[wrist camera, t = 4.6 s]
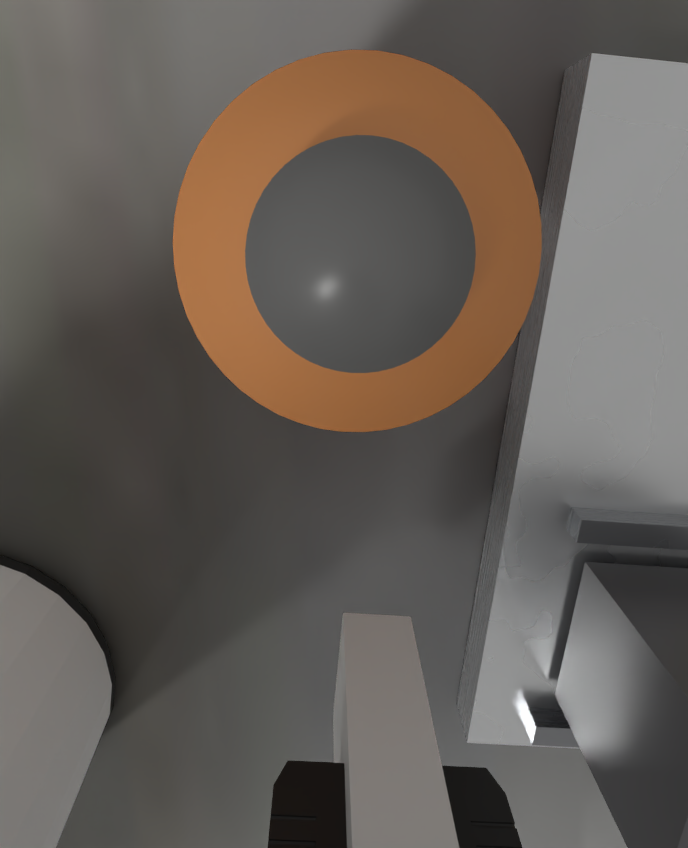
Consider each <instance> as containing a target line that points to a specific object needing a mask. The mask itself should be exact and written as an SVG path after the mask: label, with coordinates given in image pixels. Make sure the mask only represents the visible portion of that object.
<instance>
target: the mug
mask: <svg viewBox="0 0 688 848" xmlns="http://www.w3.org/2000/svg"><path fill="white" fill-rule="evenodd" d="M114 688H115V674H114V670H113V666H112V661H111V657H110V653H109V649H108V645H107V643H106V640H105V639H104V637H103V635H102V633H101V632H100V630H99V628H98V627H97V625H96V623H95V621H94V620H93V618H92V616H91V614H90V613H89V612H88V611H87V610H86V609H85V608H84V607H83V606H82V604H81V603H80V602H79V601H78V600H77V599H76V598H75V597H74V596H73V595H72V594H71V593H70V592H69V591H68V590H67V589H66V588H65V587H63V586H62V585H60V584H59V583H57V582H56V581H54V580H52V579H51V578H49V577H48V576H46V575H45V574H43V573H41V572H40V571H38V570H37V569H35V568H34V567H32V566H29V565H26V564H23V563H21V562H18V561H15V560H12V559H10V558H7V557H4V556H1V555H0V848H56V846H57V844H58V841H59V839H60V836H61V834H62V831H63V829H64V826H65V824H66V822H67V819H68V817H69V814H70V812H71V809H72V807H73V804H74V802H75V799H76V797H77V794H78V792H79V789H80V787H81V785H82V782H83V780H84V777H85V775H86V772H87V770H88V767H89V765H90V762H91V760H92V757H93V755H94V752H95V750H96V747H97V745H98V743H99V740H100V738H101V735H102V733H103V730H104V728H105V725H106V723H107V720H108V718H109V715H110V713H111V710H112V708H113V701H114Z"/></svg>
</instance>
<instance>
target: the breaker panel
mask: <svg viewBox="0 0 688 848" xmlns="http://www.w3.org/2000/svg"><path fill="white" fill-rule="evenodd" d="M540 218H541V232H542V251H541V260H540V269H539V276H538V280H537V284H536V288H535V292H534V297H533V300H532V302H531V305H530V308H529V310H528V313H527V316H526V318H525V321H524V323H523V325H522V327H521V329H520V335H519V341H518V347H517V353H516V359H515V364H514V370H513V376H512V382H511V388H510V394H509V400H508V405H507V411H506V417H505V423H504V429H503V435H502V440H501V446H500V452H499V458H498V464H497V470H496V476H495V481H494V487H493V493H492V499H491V505H490V511H489V517H488V522H487V528H486V534H485V540H484V546H483V552H482V557H481V563H480V569H479V575H478V581H477V587H476V593H475V598H474V604H473V610H472V616H471V622H470V628H469V633H468V639H467V645H466V651H465V657H464V663H463V669H462V674H461V680H460V686H459V692H458V698H457V708H458V711H459V715H460V719H461V722H462V726H463V730H464V734H465V737H466V741H467V743H479V744H499V745H519V746H539V747H559V748H579V749H580V747H579V745H578V743H577V741H576V739H575V737H574V734H573V732H572V730H571V728H570V726H569V724H568V722H567V720H566V718H565V716H564V714H563V711H562V709H561V707H560V705H559V703H558V701H557V699H556V697H555V692H556V687H557V683H558V678H559V674H560V670H561V665H562V661H563V656H564V652H565V648H566V643H567V639H568V634H569V630H570V626H571V621H572V617H573V612H574V608H575V604H576V599H577V595H578V590H579V586H580V581H581V577H582V573H583V568H584V564H585V562H597V563H612V564H628V565H643V566H659V567H674V568H688V63H681V62H671V61H662V60H653V59H643V58H634V57H624V56H615V55H606V54H596V53H591V54H590V55H588V56H586V57H585V58H583V59H582V60H580V61H579V62H577V63H575V64H574V65H572V66H571V67H569V68H568V69H566V70H565V72H564V78H563V84H562V90H561V95H560V101H559V107H558V113H557V119H556V125H555V131H554V136H553V142H552V148H551V154H550V160H549V166H548V171H547V177H546V183H545V189H544V195H543V201H542V207H541V212H540Z"/></svg>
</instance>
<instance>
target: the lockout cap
mask: <svg viewBox="0 0 688 848" xmlns="http://www.w3.org/2000/svg"><path fill="white" fill-rule="evenodd" d="M541 251H542V232H541V218H540V211H539V204H538V198H537V194H536V191H535V187H534V183H533V180H532V176H531V173H530V171H529V169H528V166H527V164H526V162H525V159H524V157H523V155H522V152H521V150H520V148H519V147H518V145H517V143H516V142H515V140H514V138H513V137H512V135H511V133H510V132H509V130H508V128H507V127H506V126H505V125H504V123H503V122H502V121H501V120H500V118H499V117H498V116H497V115H496V113H495V112H494V111H493V110H492V108H491V107H490V106H489V105H487V104H486V103H485V102H484V101H483V100H482V99H481V98H480V97H479V96H478V95H477V94H476V93H475V92H474V91H473V90H471V89H470V88H468V87H467V86H466V85H464V84H463V83H461V82H460V81H459V80H457V79H456V78H454V77H453V76H452V75H450V74H448V73H446V72H444V71H442V70H440V69H438V68H436V67H434V66H432V65H430V64H428V63H425V62H422V61H419V60H416V59H413V58H410V57H407V56H404V55H400V54H394V53H389V52H383V51H378V50H344V51H335V52H327V53H322V54H318V55H315V56H311V57H307V58H304V59H300V60H297V61H295V62H293V63H291V64H288V65H286V66H284V67H281V68H279V69H277V70H275V71H273V72H271V73H270V74H268V75H267V76H265V77H263V78H262V79H260V80H259V81H257V82H255V83H254V84H252V85H251V86H250V87H249V88H247V89H246V90H245V91H244V92H243V93H241V94H240V95H239V96H238V97H237V98H235V99H234V100H233V101H232V102H231V103H230V104H229V105H228V106H227V108H226V109H225V110H224V111H223V112H222V113H221V114H220V115H219V116H218V118H217V119H216V120H215V121H214V122H213V124H212V125H211V127H210V128H209V130H208V131H207V133H206V134H205V136H204V137H203V138H202V140H201V141H200V143H199V145H198V147H197V149H196V151H195V153H194V155H193V157H192V159H191V161H190V163H189V165H188V168H187V170H186V173H185V176H184V179H183V182H182V185H181V188H180V191H179V196H178V201H177V206H176V211H175V216H174V231H173V254H174V268H175V273H176V279H177V284H178V289H179V293H180V296H181V299H182V302H183V306H184V309H185V312H186V315H187V317H188V319H189V321H190V323H191V325H192V328H193V330H194V332H195V334H196V336H197V338H198V339H199V341H200V342H201V344H202V346H203V347H204V349H205V350H206V352H207V354H208V355H209V357H210V358H211V359H212V360H213V362H214V363H215V364H216V365H217V366H218V368H219V369H220V370H221V371H222V373H223V374H224V375H225V376H226V377H227V378H228V379H229V380H230V381H232V382H233V383H234V384H235V385H236V386H237V387H238V388H239V389H240V390H241V391H242V392H244V393H245V394H247V395H248V396H249V397H251V398H252V399H253V400H255V401H256V402H257V403H259V404H260V405H262V406H264V407H266V408H268V409H269V410H271V411H273V412H275V413H277V414H278V415H281V416H283V417H286V418H288V419H290V420H293V421H295V422H298V423H301V424H305V425H308V426H312V427H316V428H320V429H326V430H333V431H340V432H370V431H379V430H387V429H392V428H396V427H400V426H404V425H408V424H411V423H414V422H416V421H419V420H422V419H424V418H427V417H430V416H431V415H433V414H435V413H437V412H439V411H441V410H443V409H445V408H447V407H449V406H450V405H452V404H453V403H455V402H456V401H458V400H459V399H460V398H462V397H463V396H465V395H466V394H468V393H469V392H470V391H471V390H472V389H473V388H474V387H476V386H477V385H478V384H479V383H480V382H481V381H482V380H483V379H485V378H486V377H487V375H488V374H489V373H490V372H491V371H492V370H493V369H494V367H495V366H496V365H497V364H498V363H499V362H500V361H501V359H502V358H503V356H504V355H505V353H506V352H507V350H508V349H509V348H510V346H511V345H512V343H513V342H514V340H515V338H516V336H517V334H518V332H519V330H520V328H521V327H522V325H523V323H524V321H525V318H526V316H527V313H528V310H529V308H530V305H531V302H532V300H533V297H534V292H535V288H536V284H537V280H538V276H539V269H540V260H541Z"/></svg>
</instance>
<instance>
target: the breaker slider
mask: <svg viewBox="0 0 688 848" xmlns="http://www.w3.org/2000/svg"><path fill="white" fill-rule="evenodd" d="M555 697H556V699H557V701H558V703H559V705H560V707H561V709H562V711H563V714H564V716H565V718H566V720H567V722H568V724H569V726H570V728H571V730H572V732H573V734H574V737H575V739H576V741H577V743H578V745H579V747H580V749H581V751H582V753H583V755H584V757H585V759H586V762H587V764H588V766H589V768H590V770H591V772H592V774H593V776H594V778H595V780H596V782H597V784H598V787H599V789H600V791H601V793H602V795H603V797H604V799H605V801H606V803H607V805H608V807H609V809H610V812H611V814H612V816H613V818H614V820H615V822H616V824H617V826H618V828H619V830H620V832H621V835H622V837H623V839H624V841H625V843H626V845H627V847H628V848H688V568H674V567H659V566H643V565H628V564H612V563H597V562H585V564H584V568H583V573H582V577H581V581H580V586H579V590H578V595H577V599H576V604H575V608H574V612H573V617H572V621H571V626H570V630H569V634H568V639H567V643H566V648H565V652H564V656H563V661H562V665H561V670H560V674H559V678H558V683H557V687H556V692H555Z"/></svg>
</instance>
